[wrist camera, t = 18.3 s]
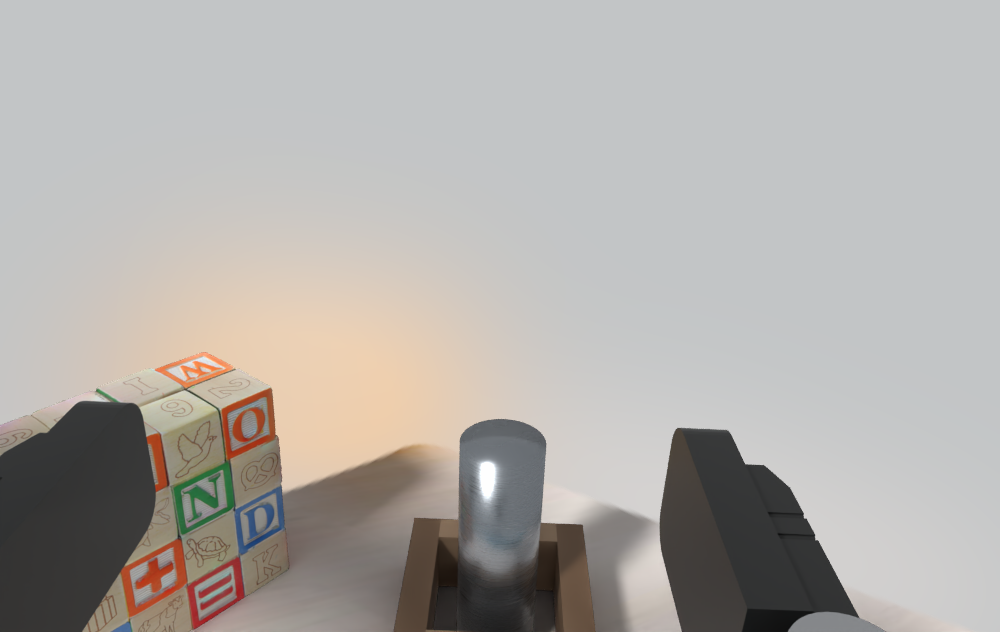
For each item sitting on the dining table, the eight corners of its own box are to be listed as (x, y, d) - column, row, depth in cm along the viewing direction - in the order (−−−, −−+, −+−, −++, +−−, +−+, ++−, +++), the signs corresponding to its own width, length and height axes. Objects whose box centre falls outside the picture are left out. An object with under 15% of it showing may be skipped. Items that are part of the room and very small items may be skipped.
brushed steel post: (454, 664, 39) (456, 465, 34) (459, 604, 42) (462, 417, 37) (533, 667, 39) (547, 469, 34) (531, 607, 42) (544, 420, 37)
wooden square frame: (391, 708, 36) (389, 654, 35) (415, 566, 45) (414, 517, 43) (592, 716, 36) (599, 662, 35) (577, 572, 45) (582, 524, 43)
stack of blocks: (-171, 872, 29) (-297, 630, 24) (-214, 771, 32) (-333, 541, 27) (292, 568, 44) (274, 382, 39) (229, 522, 48) (205, 345, 43)
